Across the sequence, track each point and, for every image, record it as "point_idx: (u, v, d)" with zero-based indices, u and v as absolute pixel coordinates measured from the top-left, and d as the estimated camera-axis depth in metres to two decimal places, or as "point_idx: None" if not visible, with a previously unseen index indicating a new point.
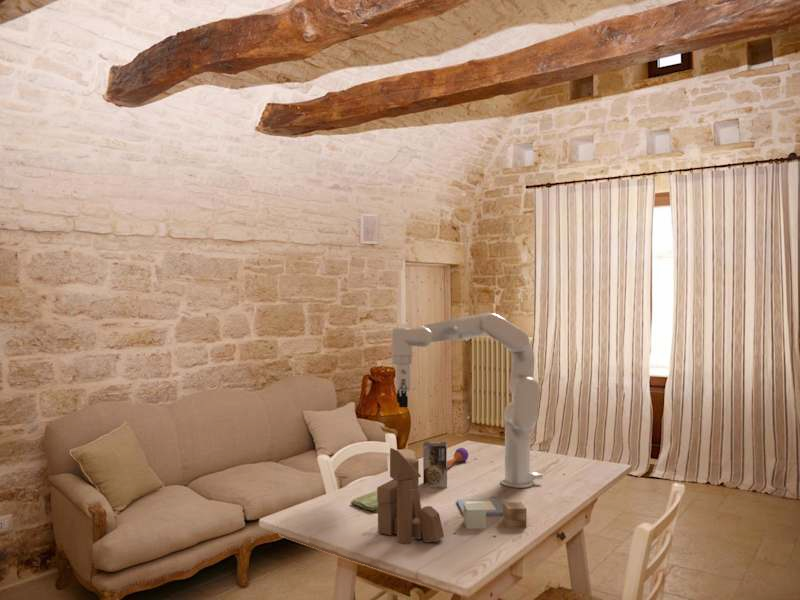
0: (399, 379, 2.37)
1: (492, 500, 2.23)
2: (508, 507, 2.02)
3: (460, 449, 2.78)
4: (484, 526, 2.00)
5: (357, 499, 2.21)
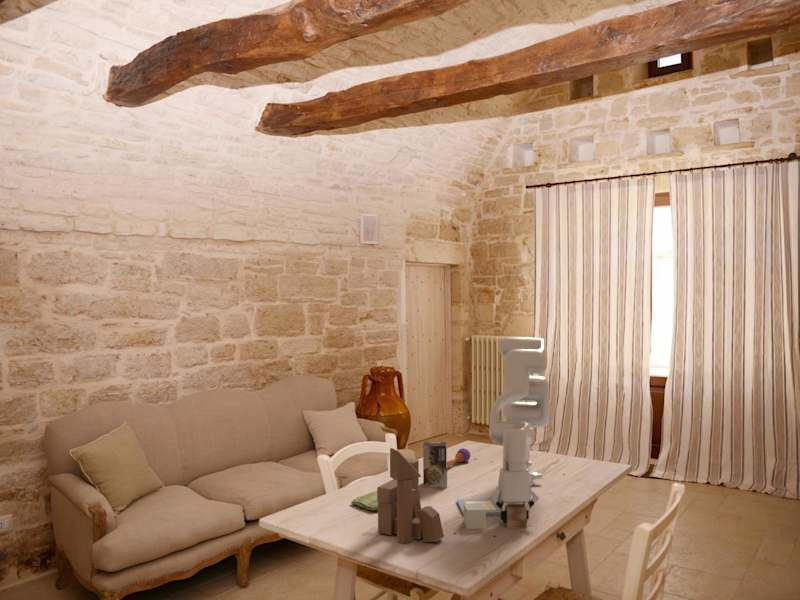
0: None
1: None
2: (508, 507, 2.02)
3: (462, 449, 2.77)
4: (484, 526, 2.00)
5: (357, 499, 2.21)
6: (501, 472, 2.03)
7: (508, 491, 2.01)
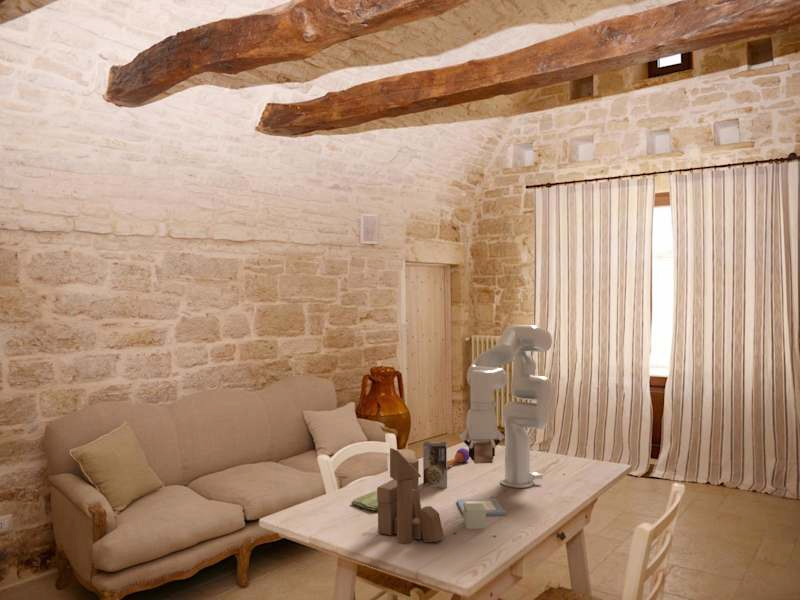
0: (496, 426, 2.16)
1: (492, 500, 2.23)
2: (475, 444, 2.16)
3: (461, 449, 2.77)
4: (484, 526, 2.00)
5: (357, 499, 2.21)
6: (469, 412, 2.16)
7: (475, 429, 2.15)
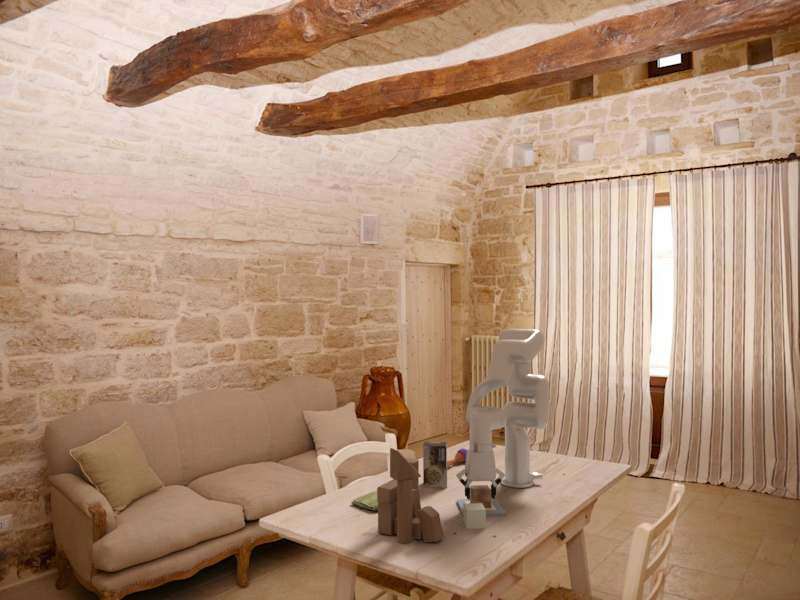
0: (495, 467, 2.17)
1: (492, 500, 2.23)
2: (474, 489, 2.16)
3: (461, 450, 2.76)
4: (484, 526, 2.00)
5: (358, 499, 2.21)
6: (467, 453, 2.17)
7: (474, 470, 2.15)
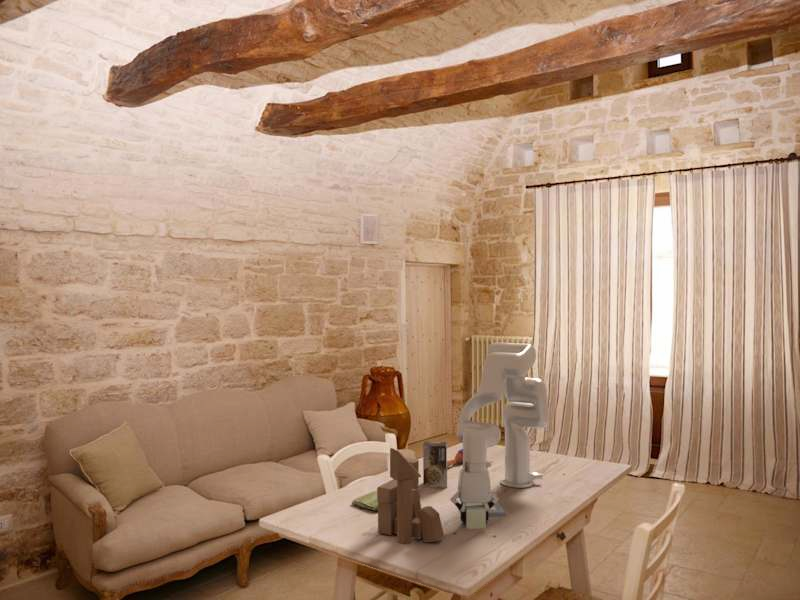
0: (490, 488, 2.01)
1: None
2: None
3: (462, 450, 2.76)
4: (484, 526, 2.00)
5: (358, 499, 2.21)
6: (461, 473, 2.02)
7: (467, 492, 2.00)
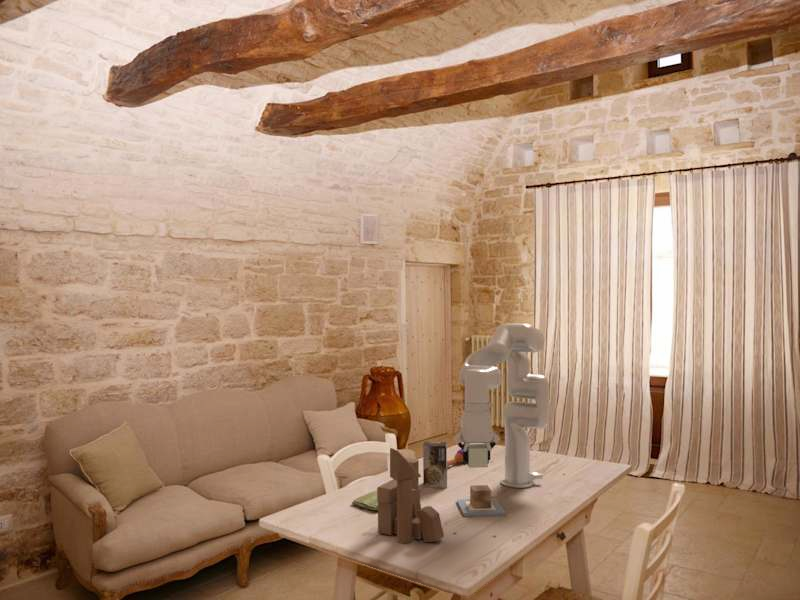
0: None
1: (492, 500, 2.23)
2: (474, 489, 2.16)
3: (461, 450, 2.76)
4: (486, 465, 2.04)
5: (358, 499, 2.21)
6: (463, 413, 2.06)
7: (469, 432, 2.04)
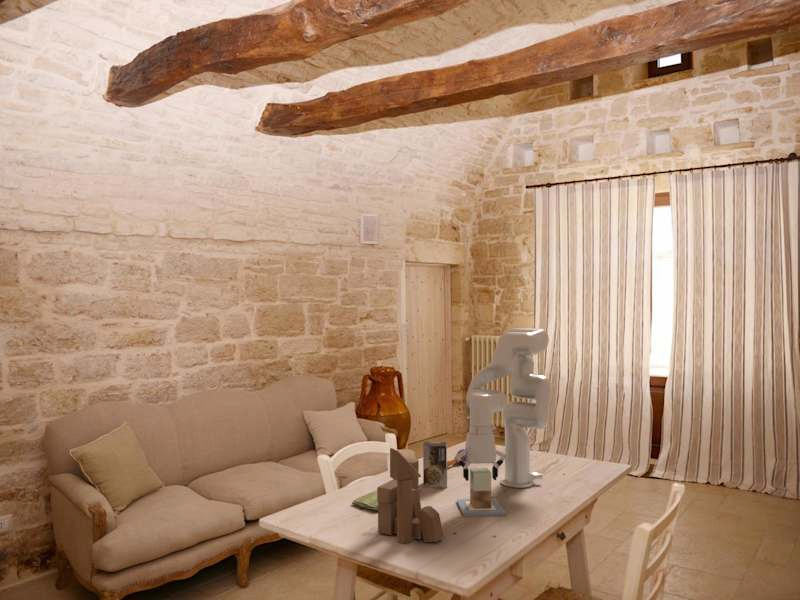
0: (495, 450, 2.17)
1: (492, 500, 2.23)
2: None
3: (462, 450, 2.75)
4: (490, 488, 2.15)
5: (358, 499, 2.21)
6: (468, 435, 2.17)
7: (474, 453, 2.15)
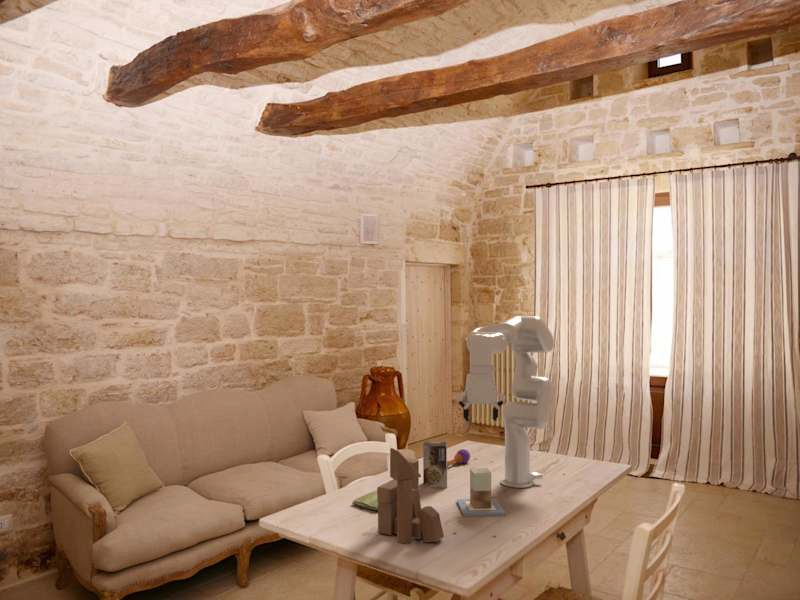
0: (495, 390, 2.16)
1: (492, 500, 2.23)
2: None
3: (461, 450, 2.75)
4: (490, 488, 2.15)
5: (358, 499, 2.21)
6: (468, 376, 2.17)
7: (474, 393, 2.15)
